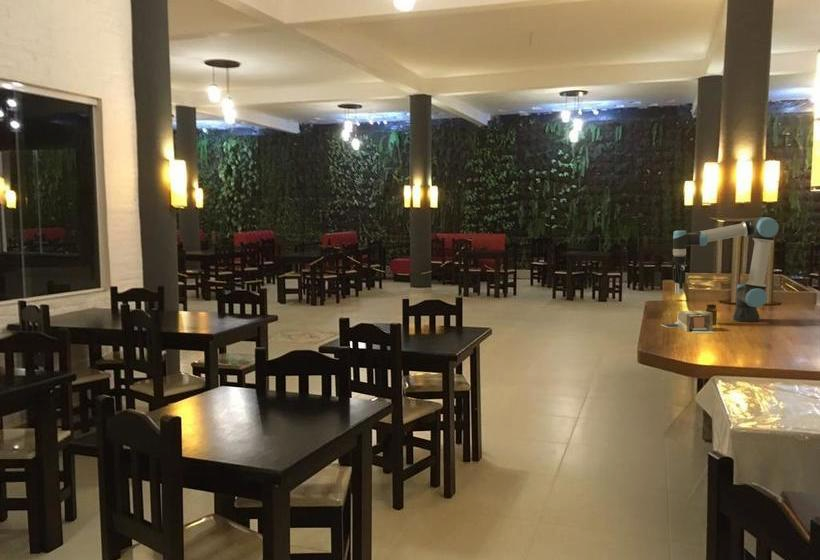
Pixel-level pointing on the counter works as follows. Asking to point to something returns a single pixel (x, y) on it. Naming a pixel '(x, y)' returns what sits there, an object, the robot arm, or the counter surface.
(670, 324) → the pad
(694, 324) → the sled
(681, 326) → the tunnel
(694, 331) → the mat
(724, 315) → the counter surface
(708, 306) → the condiment
